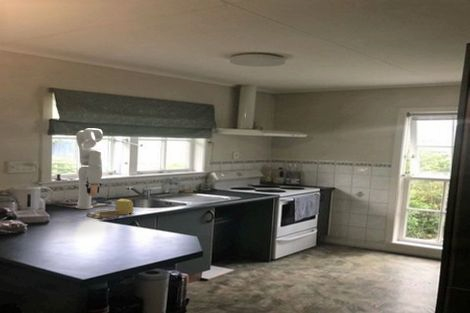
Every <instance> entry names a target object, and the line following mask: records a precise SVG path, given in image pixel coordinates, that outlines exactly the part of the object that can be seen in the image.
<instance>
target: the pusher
mask: <svg viewBox="0 0 470 313" xmlns="http://www.w3.org/2000/svg"><path fill="white" fill-rule="evenodd" d="M103 211H111V209H110V208H105V209H95V214H98V215H100V212H103Z"/></svg>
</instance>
